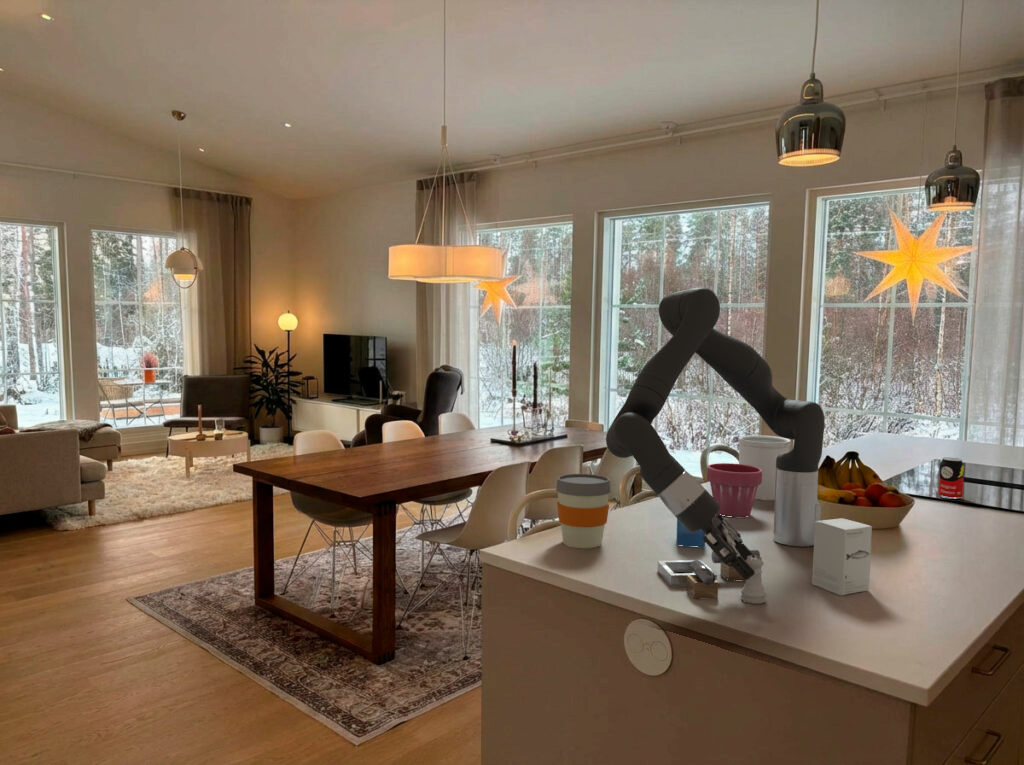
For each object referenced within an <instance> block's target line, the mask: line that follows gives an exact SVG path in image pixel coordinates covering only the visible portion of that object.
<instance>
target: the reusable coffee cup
mask: <svg viewBox="0 0 1024 765" xmlns="http://www.w3.org/2000/svg"><path fill="white" fill-rule="evenodd" d="M555 487H556V488H555V490H556V492H557V498H558V500H557V502H556V505H557V514H558V515H557V516H558V522H559V523H560V527H561V533H562V534H561V536H562V543H563V544H564V545H565V546H567V547H571V548H575V549H576V548H577V549H592V548H593V547H594V548H598V547H600V546H602V544H603V537H604V531H605V525H606V524H607V522H608V517H609V509H610V503H609V496H610V494H611V491H612V490H611V480H610V478H609V477H608V476H605V475H602V474H601V475H600V474H593V473H568V474H562V475H559V476H557V479H556V486H555ZM597 546H598V547H597ZM594 548H593V549H594Z"/></svg>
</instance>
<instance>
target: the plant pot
mask: <svg viewBox="0 0 1024 765" xmlns="http://www.w3.org/2000/svg"><path fill="white" fill-rule="evenodd" d="M706 479H707V481H708V482H709V484H710V489H711V496H712V497H713V498H714V499H715V500H716V501H717V502H718V503H719V504H720V506H721V509H720V511H719V512H718V514H721V515H725V516H732V517H745V518H747V517H746V516H749V517H750V516H751V513H752V509H753V507H754V503H755V500H756V499H755V496H756V492H757V488H758V485H760V484H761V483H762V470H761V469H760V468H758V467H754V466H750V465H744V464H739V463H732V462H731V463H728V462H727V463H725V462H724V463H723V462H721V463H711V464H708V465H707V468H706ZM718 514H717V515H718Z"/></svg>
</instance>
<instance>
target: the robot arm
mask: <svg viewBox="0 0 1024 765" xmlns="http://www.w3.org/2000/svg"><path fill="white" fill-rule="evenodd" d="M720 313H721V305H720V301H719V298H718V296H717V295H716V293H715V292H714V291H713V290H712V289H710V288H708V287H694V288H688V289H684V290H679V291H675V292H673V293H669V294H668V295H666V296H664V297H663V298H662V299H661V300H660V303H659V304H658V316H659V319H660V322H661V324H662V325H663V327H664V328H665V329H666V331H667V332H668V333H669V334H670V335H672V336H671V338H670V339H669V340H668V342H666V344H664V345H663V347H662V348H661V349H659V350H658V351H657V352H656V353H655V354H654V355H652V357H651V358H650V359H649V360H648V361H647V362H646V364H644V366H643V367H642V369H641V370H640V372H639V373H638V375H637V377H636V379H635V381H634V383H633V384H632V387H631V389H630V390H629V393H628V395H627V397H626V400H625V402H624V403H623V405H622V406H621V409H620V410H619V411H618V412H617V414H616V416H615V417H614V419H613V421H612V423H611V424H610V426H609V427H608V430H607V431H606V436H605V443H606V448H607V449H608V451H609V452H610V453H611V454H612V455H613V456H615V457H617V458H621V459H624V458H625V459H626V458H629V457H630V458H631V457H633V458H634V459H635V461H636V463H638V465H639V468H640V469H639V474H640V477H641V479H643V481H644V482H645V483H646V484H647V486H649V488H650V489H651V490H652V491H653V492H654V493H655V494H656V495H657V496H658V498H659V499H660V500H661V502H662V503H663V504H664V506H665V507H666V508H667V509H668V510H669V512H670V513H671V514H672V515H674V517H675V518H676V520H677V519H678V520H679V521H680V522H681V523H682V524H683V525H684V527H685V528H686V529H687V530H688V531H689V532H690V533H694V532H696V531H698V530H699V529H702V530H703V532H704V533H705V536H704V537H703V540H704V542H705V544H706V545H707V546H708V547H709V548H710V549H711V550H712V551H714V552H715V553H716V554H717V556H718V557H719V558H720V559H721V560H722V561H723V563H724V564H726V565H727V564H729V565H730V564H731V565H732V566H733V567H734V568H735V569H736V570H737V572H738V573H739V574H740V575H741V576H742V577H743V578H744V579H745V580H748V579H749V578H750V577H752V576H753V575H754V573H755V571H754V570H753V568H752V567H751V566H750V565H749V564H748V563H747V562H746V560H747V556H749V555H752V558H754V557H755V555H754V554H753V553H752V552H751V551H750V550H751V549H750V548H748V547H747V545H745V543H744V541H743V538H742V535H741V533H739V532H738V531H737V530H736V529H735V528H734V527H733V526H732V525H731V524H730V523H729V522H728V521H727V520H726V518H725V517H724V516H722V515H720V514H717V513H718V512H719V511H720V509H721V506H720V504H719V503H718V502H717V501H716V500H715V499H714V498H713V496H712V494H711V493H710V492H708V490H707V489H706V488H704V486H703V485H702V484H701V483H700V482H699V480H697V479H696V478H695V477H694V476H693V475H692V474H691V473H689V472H688V471H687V470H686V469H685V468H684V467H683V465H682V464H680V463H679V462H678V460H677V459H676V458H675V457H674V456H673V455H671V453H670V451H669V450H668V449H667V447H666V445H665V443H664V441H663V440H662V438H661V437H660V435H659V434H658V432H657V431H656V429H655V427H654V426H653V425H652V423H653V421H654V420H655V419H656V417H658V415H659V414H660V412H661V411H662V409H663V408H664V405H665V404H666V401H667V399H668V397H669V396H670V394H671V392H672V389H673V387H674V386H675V384H676V382H677V380H678V379H679V377H680V375H681V373H682V372H683V370H684V369H685V368H686V366H687V364H688V363H689V362H690V361H691V359H692V357H694V355H695V354H696V355H698V356H699V357H700V358H701V359H702V360H703V361H704V362H705V363H706V364H707V365H708V366H709V367H710V368H712V369H713V370H714V371H715V372H716V373H717V374H718V376H720V377H721V378H722V380H724V381H725V383H726V384H728V385H729V386H730V387H731V388H732V389H733V390H734V391H735V392H737V394H739V396H740V397H741V398H743V400H745V401H746V402H747V404H749V405H750V406H751V407H752V408H753V409H754V410H755V411H756V412H757V413H758V415H759V416H760V418H761V419H762V420H763V421H764V422H765V424H766V425H767V426H768V428H770V430H771V431H772V433H774V434H775V435H777V437H782V438H787V439H789V440H794V441H793V446H792V449H791V450H789V452H788V453H784V454H780V455H778V456H777V458H776V480H775V500H774V516H773V541H774V542H776V543H778V544H781V545H785V546H790V547H791V546H792V547H812V546H814V530H815V521H821V512H822V511H821V510H822V509H821V508H822V506H821V503H820V502H818V488H819V486H818V485H819V484H818V482H819V465H820V461H821V459H822V455H823V443H824V434H825V414H824V410H823V408H822V407H821V406H820V404H818V403H816V402H814V401H808V400H798V399H790V398H787V397H785V396H784V395H782V394H781V393H780V392H779V391H778V390H777V389H776V388H775V387H774V385H773V374H772V369H771V367H770V365H769V363H768V362H767V361H766V359H764V357H763V356H761V355H760V353H759V352H758V351H756V349H755V348H754V347H752V345H750V344H748V343H747V342H745V341H743V340H740V339H739V338H736V337H734V336H731V335H728V334H727V333H724V332H722V331H719V330H718V329H715V326H716V325H717V323H718V321H719V318H720ZM728 551H729V554H728V555H727V552H728Z"/></svg>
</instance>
